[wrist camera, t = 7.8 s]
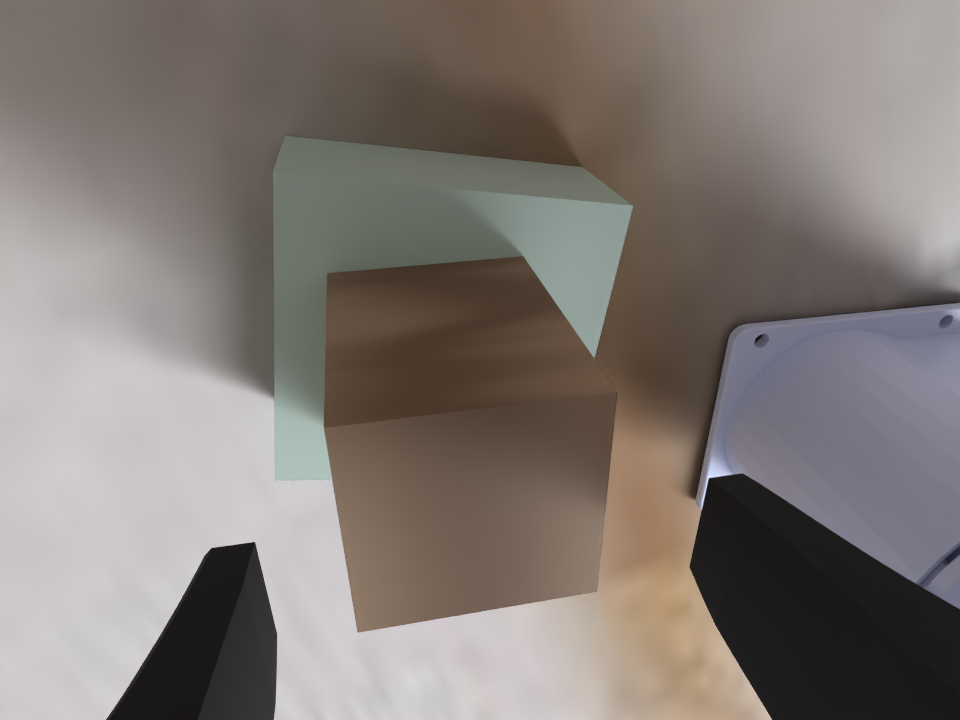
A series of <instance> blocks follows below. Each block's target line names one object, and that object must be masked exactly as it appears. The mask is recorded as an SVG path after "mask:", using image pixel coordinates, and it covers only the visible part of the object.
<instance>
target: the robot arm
mask: <svg viewBox="0 0 960 720" xmlns="http://www.w3.org/2000/svg"><path fill="white" fill-rule="evenodd" d="M941 319H942V320H941ZM940 320H941V321H940ZM761 334H763V335H762V337H761V339H759V340H758V341H757V342H754V341H755V339H756V338H757V337H758V336H759V335H761ZM696 504H697V505H698V507H699V508H700V510H701V511H702V512H701V516H700V521H699V526H698V530H697V535H696V540H695V544H694V549H693V553H692V558H691V563H690V569H691V571H692V574H693V576H694V578H695V581H696V583H697V585H698V588H699V590H700V592H701V595H702V597H703V599H704V601H705V604H706V606H707V608H708V610H709V612H710V614H711V616H712V619H713V621H714V623H715V625H716V627H717V628H718V630H719V632H720V634H721V635H722V637H723V639H724V640H725V642H726V644H727V645H728V647H729V649H730V650H731V652H732V654H733V656H734V657H735V659H736V661H737V662H738V664H739V666H740V667H741V669H742V671H743V672H744V674H745V676H746V677H747V679H748V680H749V682H750V684H751V685H752V687H753V689H754V690H755V692H756V694H757V695H758V697H759V699H760V700H761V702H762V703H763V705H764V707H765V708H766V710H767V712H768V713H769V715H770V717H771V718H772V720H960V303H954V304H944V305H934V306H924V307H913V308H903V309H893V310H883V311H873V312H863V313H853V314H843V315H833V316H822V317H812V318H802V319H792V320H782V321H772V322H762V323H752V324H744V325H740V326H738V327H737V328H735V329H734V330H733V331H732V333H731V334H730V336H729V339H728V344H727V349H726V354H725V359H724V363H723V368H722V373H721V378H720V383H719V388H718V393H717V398H716V403H715V408H714V413H713V418H712V423H711V427H710V432H709V437H708V442H707V447H706V452H705V457H704V462H703V467H702V472H701V477H700V482H699V487H698V491H697V496H696ZM276 669H277V632H276V628H275V624H274V620H273V615H272V611H271V607H270V603H269V599H268V595H267V590H266V586H265V582H264V578H263V574H262V570H261V565H260V561H259V557H258V553H257V549H256V544H255V542H252V543H245V544H238V545H231V546H224V547H217V548H211V549H210V550H209V552H208V553H207V554H206V555H205V556H204V558H203V560H202V562H201V564H200V566H199V568H198V570H197V571H196V573H195V575H194V577H193V579H192V581H191V583H190V584H189V586H188V588H187V590H186V592H185V594H184V595H183V597H182V599H181V601H180V602H179V604H178V606H177V608H176V609H175V611H174V613H173V615H172V616H171V618H170V620H169V621H168V623H167V625H166V627H165V628H164V630H163V632H162V633H161V635H160V637H159V638H158V640H157V642H156V643H155V645H154V646H153V648H152V650H151V651H150V653H149V654H148V656H147V658H146V659H145V661H144V662H143V664H142V666H141V667H140V669H139V671H138V672H137V674H136V675H135V677H134V679H133V680H132V682H131V683H130V685H129V687H128V688H127V690H126V691H125V693H124V694H123V696H122V697H121V699H120V700H119V702H118V703H117V705H116V706H115V708H114V709H113V711H112V712H111V713H110V715H109V716H108V718H107V719H106V720H274V712H275V703H276Z"/></svg>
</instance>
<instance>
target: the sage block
mask: <svg viewBox="0 0 960 720" xmlns="http://www.w3.org/2000/svg"><path fill="white" fill-rule="evenodd" d="M632 209H633V205H632V204H631V203H629V202H628V201H627V200H625V199H624V198H623V197H621V196H620V195H619V194H617V193H616V192H615V191H613V190H612V189H611V188H609V187H608V186H607V185H605V184H604V183H603V182H601V181H600V180H599V179H597V178H596V177H595V176H594V175H592V174H591V173H590V172H588V171H587V170H586V169H584V168H583V167H577V166H567V165H558V164H549V163H539V162H530V161H520V160H511V159H501V158H492V157H482V156H473V155H464V154H454V153H445V152H435V151H426V150H416V149H407V148H398V147H388V146H379V145H369V144H360V143H350V142H341V141H332V140H322V139H313V138H303V137H294V136H284V139H283V142H282V145H281V148H280V151H279V154H278V158H277V161H276V164H275V167H274V170H273V274H274V430H275V480H332V475H331V469H330V463H329V457H328V451H327V445H326V439H325V433H324V393H325V347H326V301H327V273H336V272H348V271H359V270H371V269H382V268H394V267H405V266H416V265H428V264H439V263H451V262H462V261H474V260H485V259H497V258H508V257H519V256H524V258H525V259H526V261H527V262H528V264H529V265H530V266H531V268H532V269H533V271H534V272H535V274H536V275H537V277H538V278H539V279H540V281H541V282H542V284H543V285H544V287H545V288H546V290H547V291H548V292H549V294H550V295H551V297H552V298H553V300H554V301H555V303H556V304H557V305H558V307H559V308H560V310H561V311H562V313H563V314H564V316H565V317H566V318H567V320H568V321H569V323H570V324H571V326H572V327H573V329H574V330H575V331H576V333H577V334H578V336H579V337H580V339H581V340H582V342H583V343H584V344H585V346H586V347H587V349H588V350H589V352H590V353H591V355H592V356H593V357H594V359H595V355H596V351H597V347H598V343H599V339H600V335H601V331H602V327H603V323H604V319H605V315H606V312H607V308H608V304H609V300H610V296H611V292H612V288H613V284H614V280H615V276H616V272H617V268H618V264H619V260H620V256H621V253H622V249H623V245H624V241H625V237H626V233H627V229H628V225H629V221H630V217H631V213H632Z"/></svg>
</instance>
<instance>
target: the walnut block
mask: <svg viewBox="0 0 960 720" xmlns="http://www.w3.org/2000/svg"><path fill="white" fill-rule="evenodd" d="M616 401H617V391H616V389H615V388H614V386H613V385H612V383H611V382H610V380H609V379H608V378H607V376H606V375H605V373H604V372H603V370H602V369H601V368H600V366H599V365H598V363H597V362H596V360H595V359H594V357H593V356H592V355H591V353H590V352H589V350H588V349H587V347H586V346H585V344H584V343H583V342H582V340H581V339H580V337H579V336H578V334H577V333H576V331H575V330H574V329H573V327H572V326H571V324H570V323H569V321H568V320H567V318H566V317H565V316H564V314H563V313H562V311H561V310H560V308H559V307H558V305H557V304H556V303H555V301H554V300H553V298H552V297H551V295H550V294H549V292H548V291H547V290H546V288H545V287H544V285H543V284H542V282H541V281H540V279H539V278H538V277H537V275H536V274H535V272H534V271H533V269H532V268H531V266H530V265H529V264H528V262H527V261H526V259H525V258H524V256H519V257H508V258H497V259H485V260H474V261H462V262H451V263H439V264H428V265H416V266H405V267H394V268H382V269H371V270H359V271H348V272H336V273H327V301H326V347H325V393H324V433H325V439H326V445H327V451H328V457H329V463H330V469H331V475H332V481H333V487H334V493H335V499H336V505H337V511H338V517H339V523H340V529H341V535H342V541H343V547H344V553H345V559H346V565H347V571H348V577H349V583H350V589H351V595H352V601H353V607H354V613H355V619H356V625H357V631H358V632H364V631H370V630H375V629H381V628H387V627H393V626H399V625H405V624H411V623H416V622H422V621H428V620H434V619H440V618H446V617H451V616H457V615H463V614H469V613H475V612H481V611H486V610H492V609H498V608H504V607H510V606H516V605H521V604H527V603H533V602H539V601H545V600H551V599H556V598H562V597H568V596H574V595H580V594H586V593H591V592H597V588H598V578H599V568H600V558H601V548H602V539H603V529H604V519H605V509H606V499H607V489H608V480H609V470H610V460H611V450H612V440H613V431H614V421H615V411H616Z"/></svg>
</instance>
